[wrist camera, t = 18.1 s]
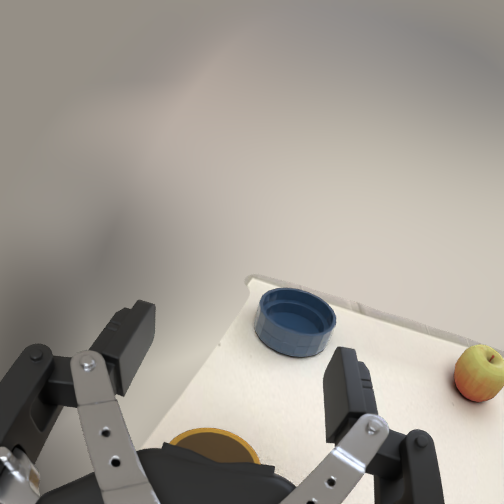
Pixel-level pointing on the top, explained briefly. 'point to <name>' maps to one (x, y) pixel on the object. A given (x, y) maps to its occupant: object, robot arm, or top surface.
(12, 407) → the robot arm
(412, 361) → the top surface
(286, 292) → the bowl
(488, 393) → the apple
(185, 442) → the cup
